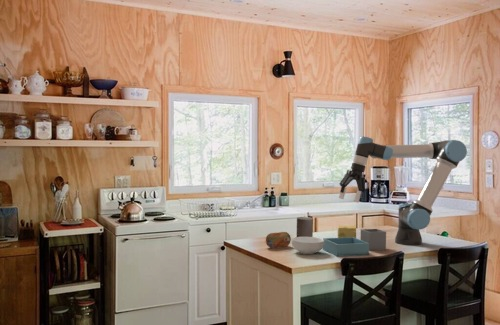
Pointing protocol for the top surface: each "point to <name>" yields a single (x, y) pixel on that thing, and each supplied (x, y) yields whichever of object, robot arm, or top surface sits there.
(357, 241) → the teal crate
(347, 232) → the cheese
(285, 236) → the tin
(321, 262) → the top surface
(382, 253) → the top surface
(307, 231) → the pillar candle
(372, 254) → the top surface
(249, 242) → the top surface
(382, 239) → the block
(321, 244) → the cereal bowl
